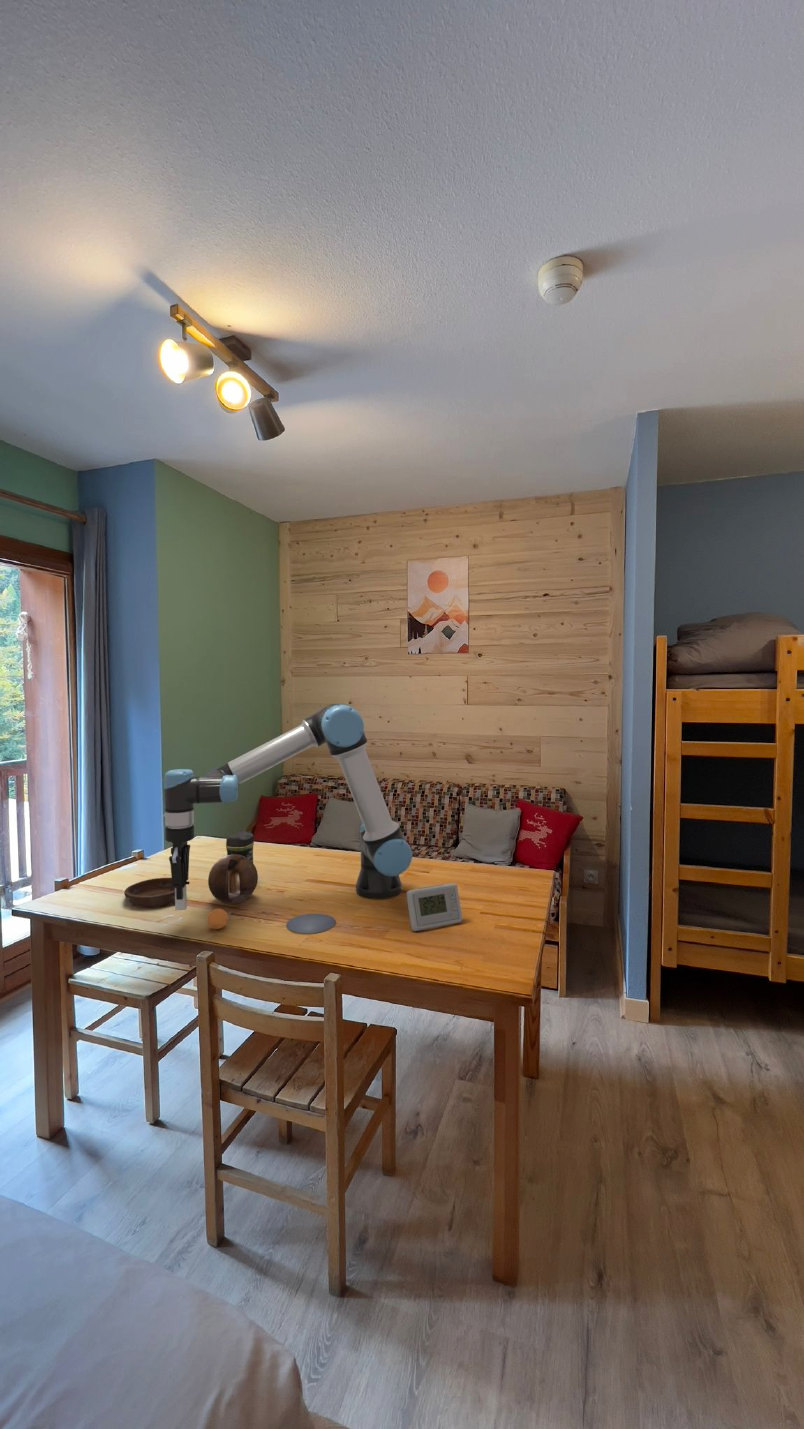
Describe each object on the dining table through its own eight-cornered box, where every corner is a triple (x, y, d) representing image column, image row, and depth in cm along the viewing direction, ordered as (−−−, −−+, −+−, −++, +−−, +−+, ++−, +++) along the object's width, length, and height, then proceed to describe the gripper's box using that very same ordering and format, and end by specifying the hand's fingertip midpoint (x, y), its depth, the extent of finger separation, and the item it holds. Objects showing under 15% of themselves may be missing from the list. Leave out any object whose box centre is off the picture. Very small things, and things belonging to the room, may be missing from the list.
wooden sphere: (219, 893, 195) (218, 848, 194) (264, 894, 194) (263, 848, 193) (201, 911, 180) (199, 862, 179) (249, 911, 179) (248, 862, 178)
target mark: (335, 913, 177) (335, 912, 177) (335, 932, 164) (335, 931, 164) (288, 915, 176) (288, 914, 176) (284, 935, 162) (284, 934, 162)
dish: (144, 889, 200) (143, 875, 200) (202, 894, 195) (202, 879, 195) (107, 908, 183) (106, 893, 183) (170, 914, 178) (169, 898, 178)
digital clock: (410, 933, 163) (409, 895, 162) (403, 921, 171) (402, 884, 171) (466, 928, 166) (466, 890, 165) (457, 915, 175) (456, 880, 174)
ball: (229, 924, 170) (229, 905, 170) (225, 932, 165) (225, 912, 164) (209, 925, 169) (209, 906, 169) (205, 933, 164) (204, 913, 164)
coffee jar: (244, 893, 195) (243, 837, 194) (223, 891, 197) (221, 836, 196) (258, 883, 205) (257, 830, 204) (237, 881, 207) (236, 828, 206)
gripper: (172, 820, 171) (173, 901, 172) (158, 831, 158) (160, 918, 159) (199, 819, 171) (200, 900, 172) (187, 831, 158) (189, 917, 160)
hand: (181, 909), depth 166 cm, fingers closed
